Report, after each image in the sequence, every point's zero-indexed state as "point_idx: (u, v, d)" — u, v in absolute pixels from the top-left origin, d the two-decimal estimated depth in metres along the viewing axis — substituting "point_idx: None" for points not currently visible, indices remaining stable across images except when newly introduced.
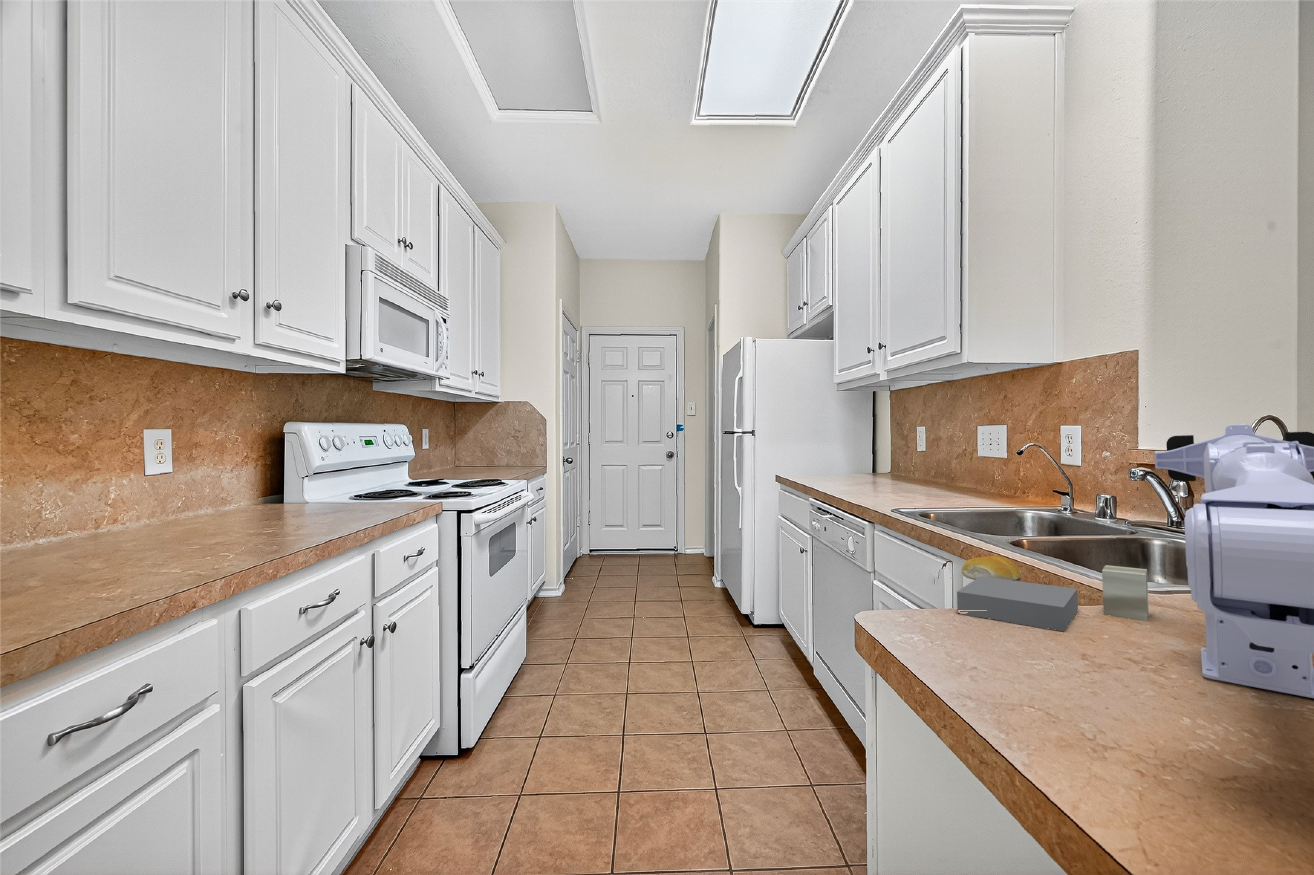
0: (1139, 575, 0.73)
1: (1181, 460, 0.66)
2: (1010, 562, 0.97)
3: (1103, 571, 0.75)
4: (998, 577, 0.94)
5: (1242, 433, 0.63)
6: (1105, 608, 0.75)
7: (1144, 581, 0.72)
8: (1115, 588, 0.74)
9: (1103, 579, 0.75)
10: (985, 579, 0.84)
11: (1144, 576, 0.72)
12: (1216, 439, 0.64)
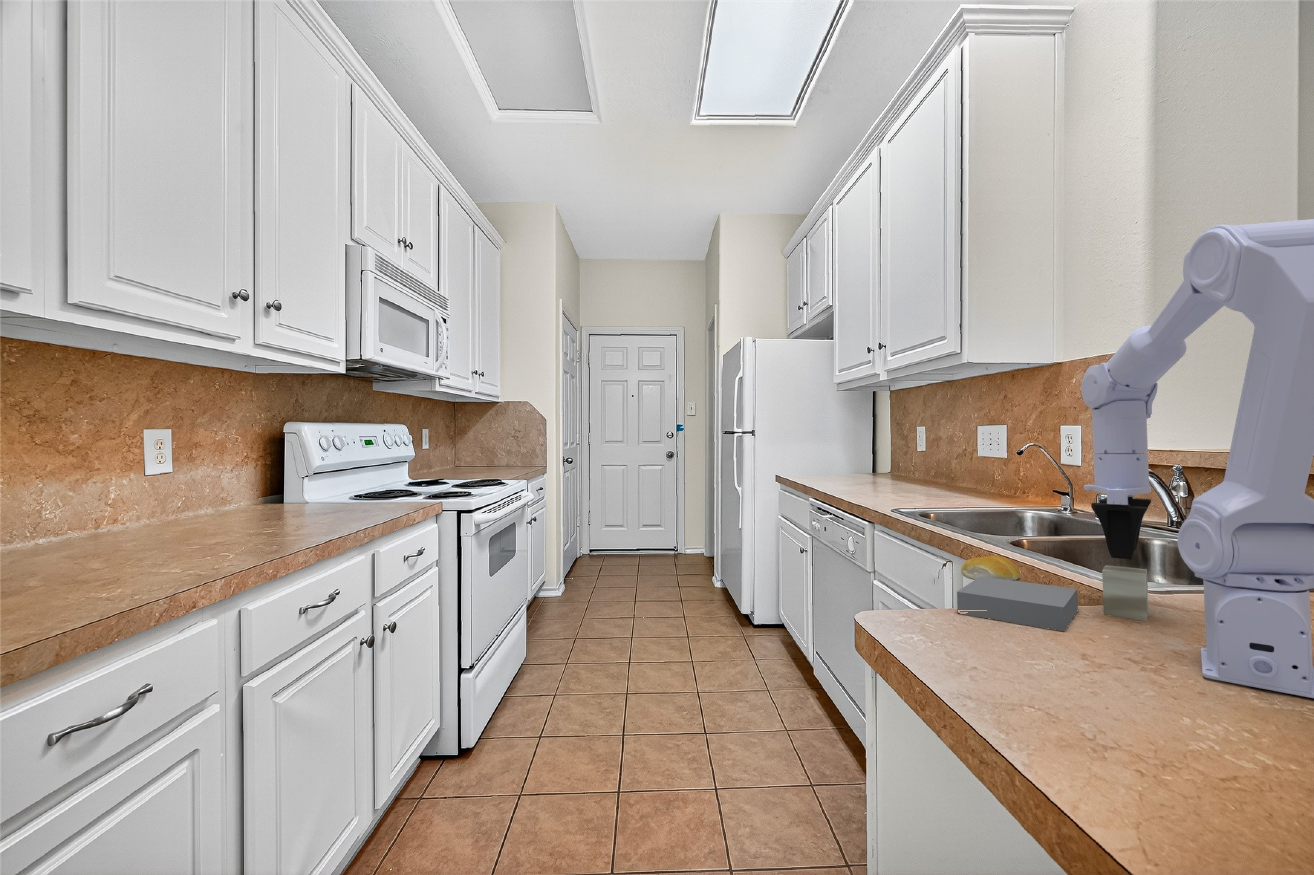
0: (1139, 575, 0.73)
1: (1118, 488, 0.72)
2: (1010, 562, 0.97)
3: (1103, 571, 0.75)
4: (998, 577, 0.94)
5: (1093, 485, 0.78)
6: (1105, 608, 0.75)
7: (1144, 581, 0.72)
8: (1115, 588, 0.74)
9: (1103, 579, 0.75)
10: (985, 579, 0.84)
11: (1144, 576, 0.72)
12: (1097, 486, 0.76)
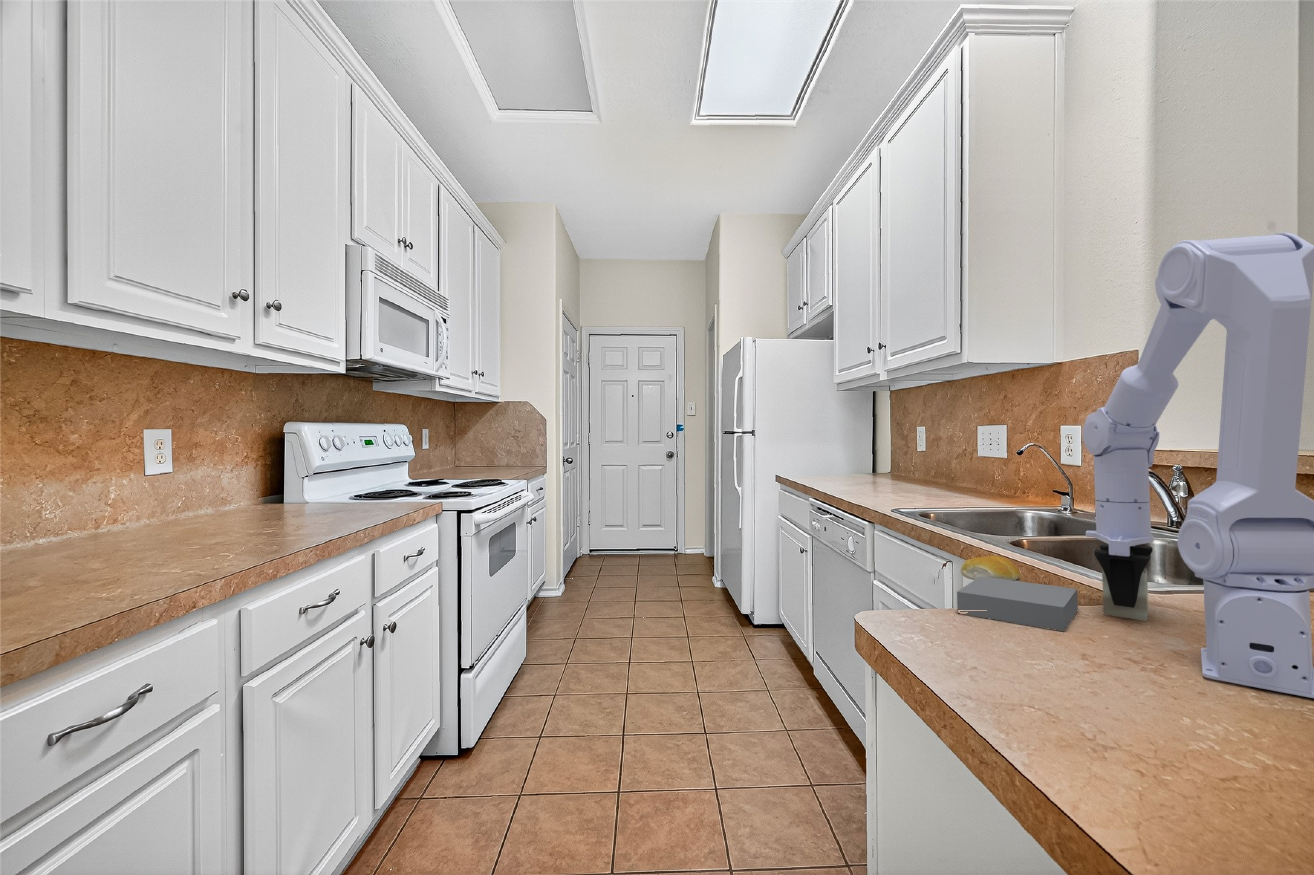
0: None
1: (1120, 538, 0.72)
2: (1010, 562, 0.97)
3: (1103, 571, 0.75)
4: (997, 577, 0.94)
5: (1095, 531, 0.78)
6: (1105, 608, 0.75)
7: (1144, 581, 0.72)
8: None
9: (1103, 579, 0.75)
10: (985, 579, 0.84)
11: (1144, 576, 0.72)
12: (1099, 533, 0.76)
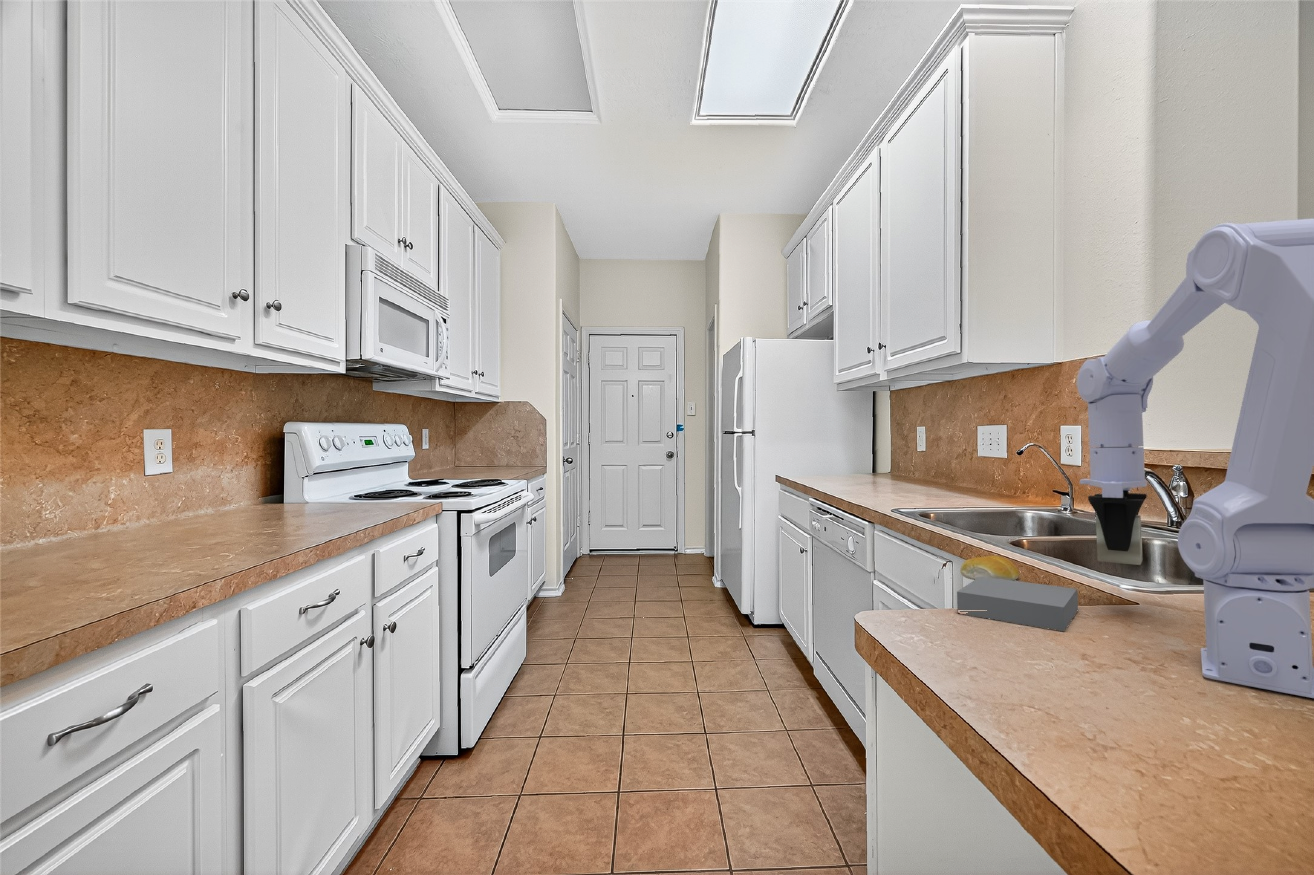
0: None
1: (1113, 481, 0.72)
2: (1009, 562, 0.97)
3: (1097, 517, 0.76)
4: (997, 577, 0.94)
5: (1089, 479, 0.78)
6: (1099, 554, 0.75)
7: (1137, 525, 0.73)
8: None
9: (1097, 525, 0.76)
10: (985, 579, 0.84)
11: (1137, 520, 0.73)
12: (1093, 480, 0.76)
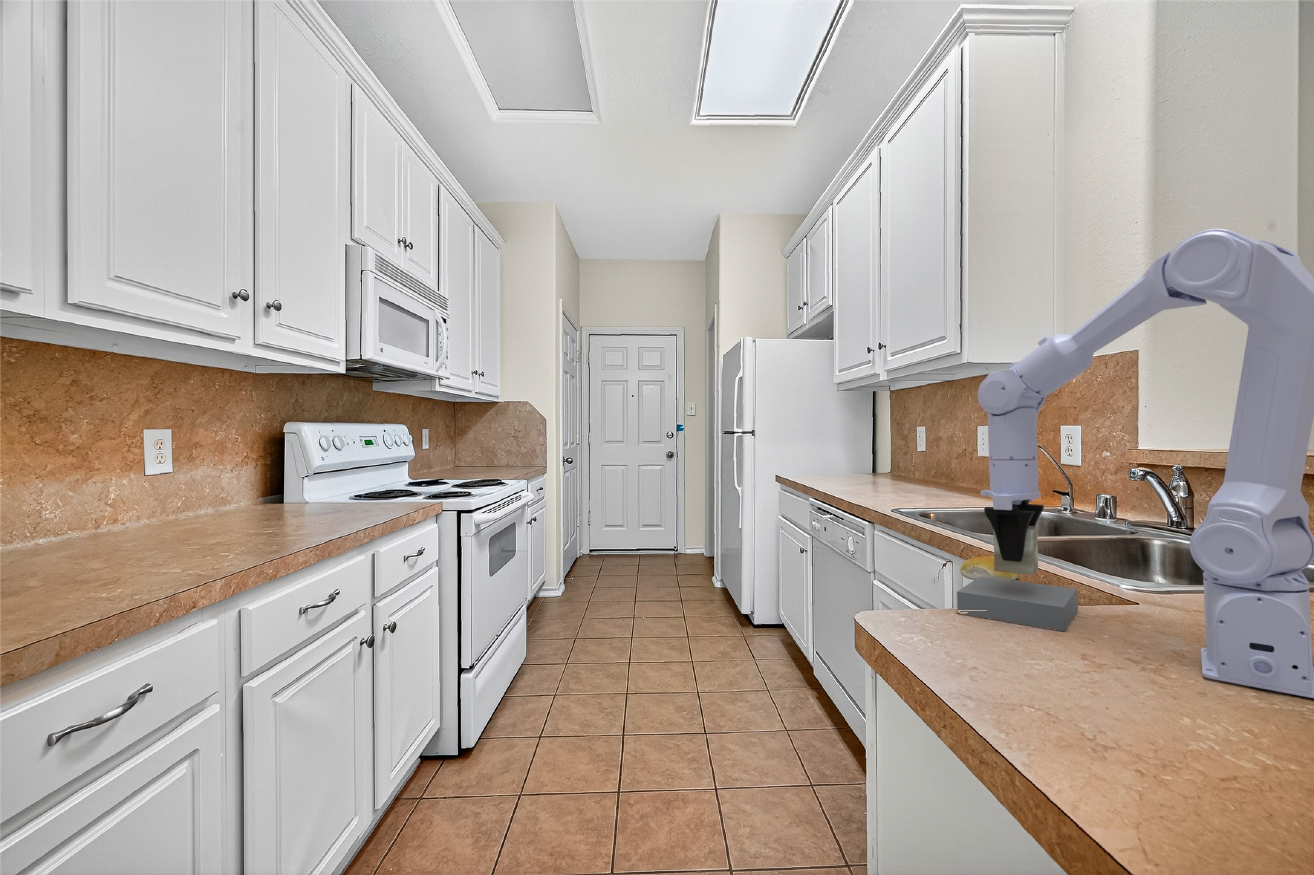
0: None
1: (1005, 493, 0.74)
2: None
3: None
4: (997, 577, 0.94)
5: (990, 490, 0.80)
6: (996, 564, 0.77)
7: (1030, 536, 0.74)
8: None
9: (994, 536, 0.77)
10: (985, 579, 0.84)
11: (1030, 531, 0.74)
12: (991, 491, 0.78)
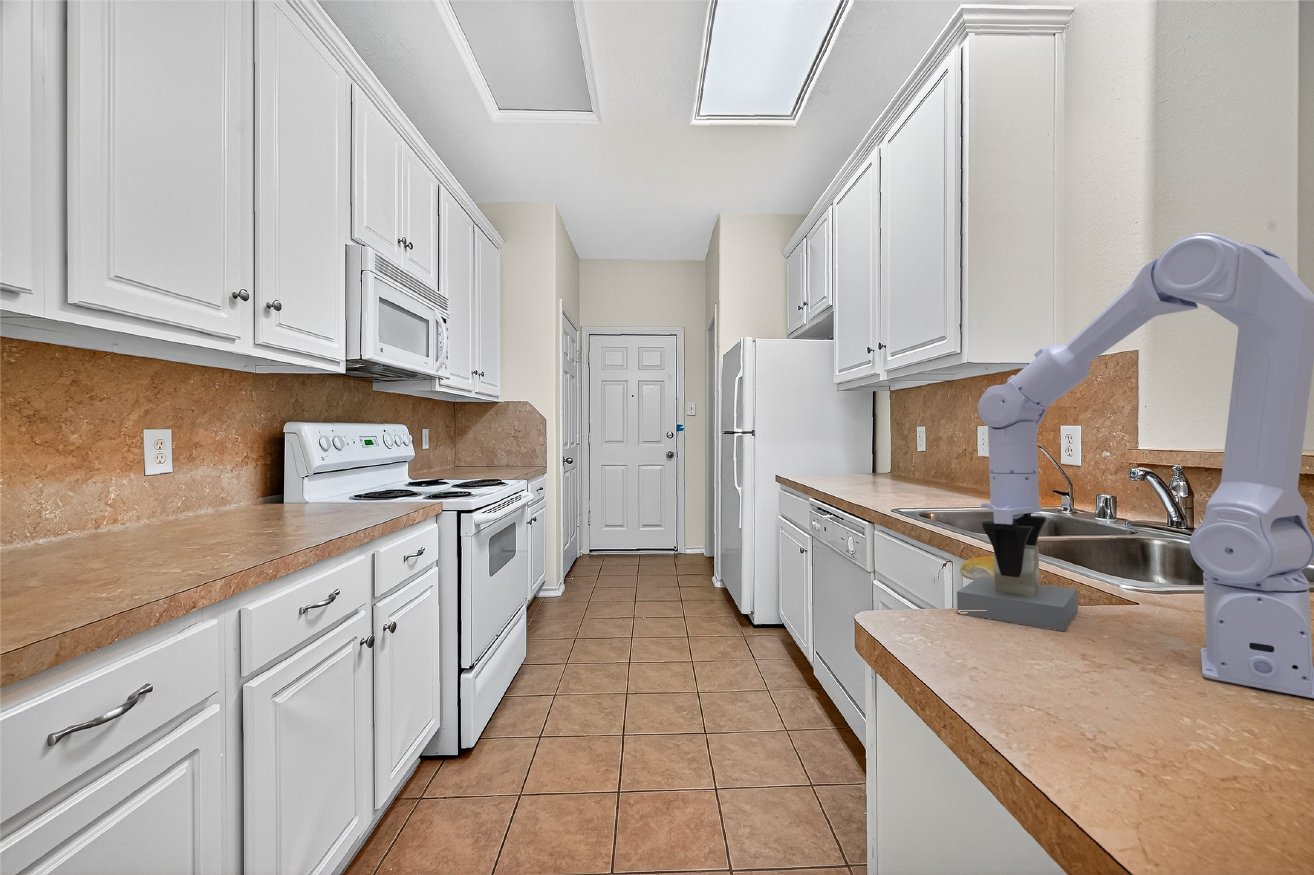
0: (1026, 551, 0.74)
1: (1006, 507, 0.74)
2: None
3: None
4: None
5: (990, 503, 0.80)
6: (996, 584, 0.77)
7: (1030, 557, 0.74)
8: None
9: (994, 555, 0.77)
10: (985, 579, 0.84)
11: (1030, 552, 0.74)
12: (991, 504, 0.78)
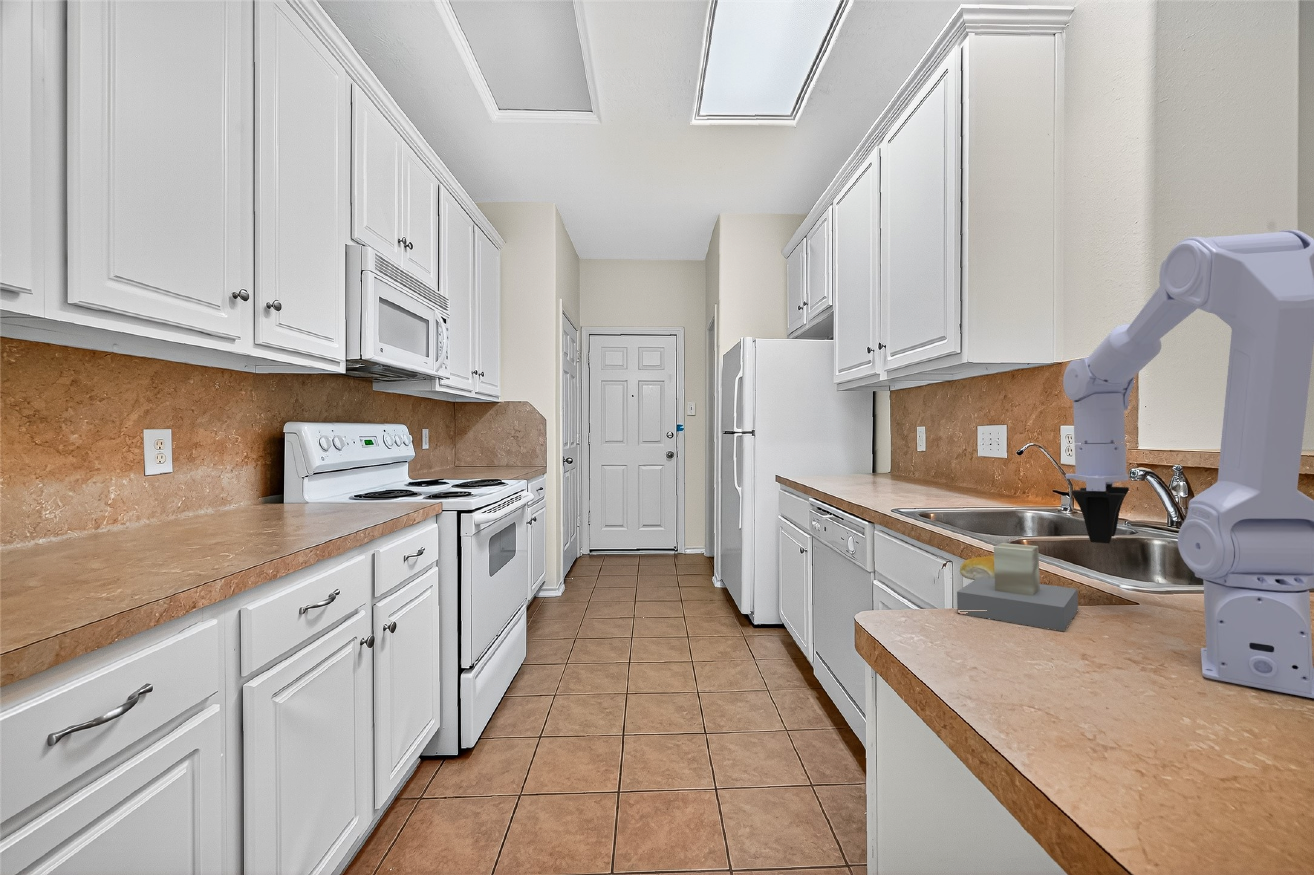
0: (1026, 551, 0.74)
1: (1097, 475, 0.76)
2: None
3: (994, 548, 0.77)
4: None
5: None
6: (996, 584, 0.77)
7: (1030, 557, 0.74)
8: (1005, 564, 0.76)
9: (994, 555, 0.77)
10: (985, 579, 0.84)
11: (1030, 552, 0.74)
12: (1078, 474, 0.80)
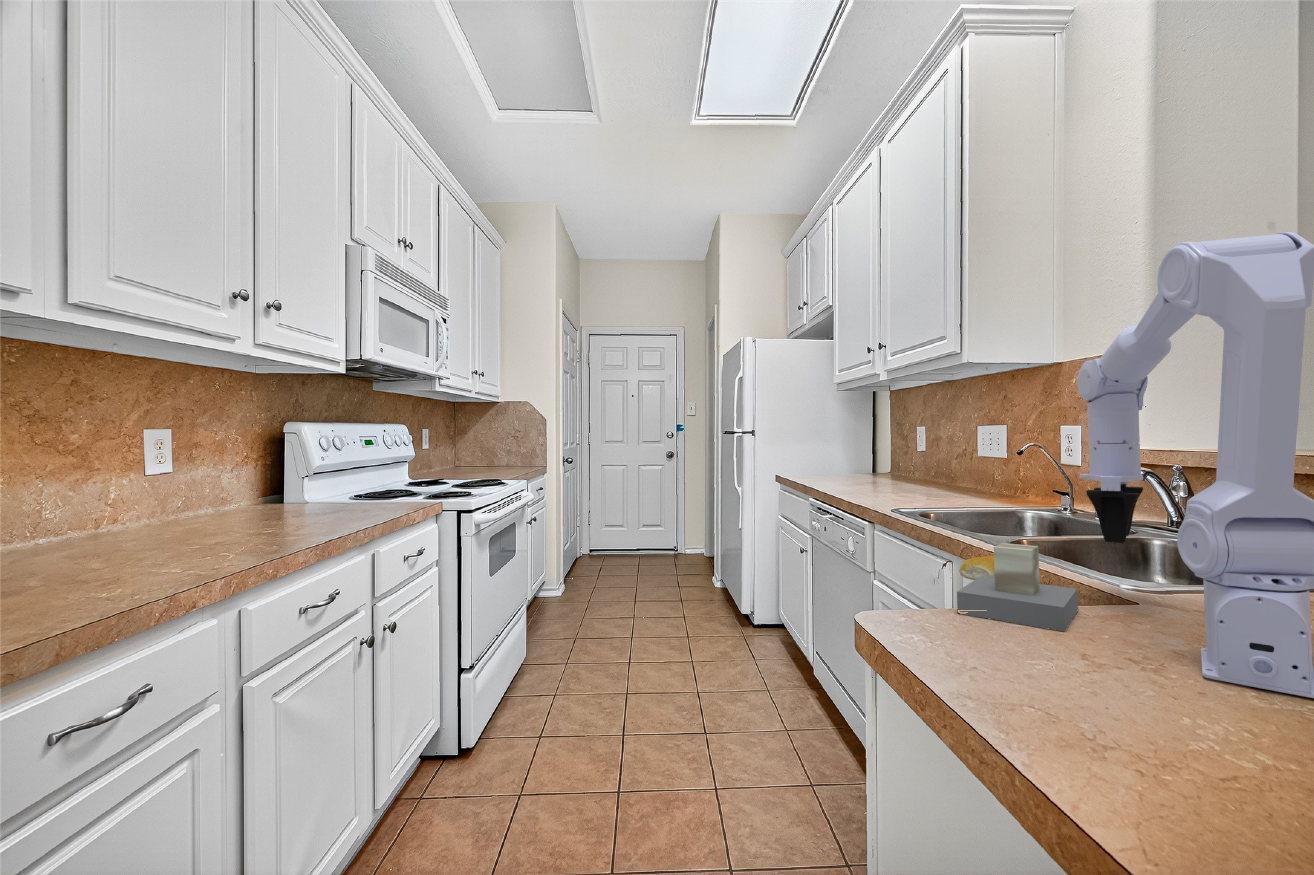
0: (1026, 551, 0.74)
1: (1111, 475, 0.77)
2: None
3: (994, 548, 0.77)
4: None
5: None
6: (996, 584, 0.77)
7: (1030, 557, 0.74)
8: (1005, 564, 0.76)
9: (994, 555, 0.77)
10: (985, 579, 0.84)
11: (1030, 552, 0.74)
12: (1092, 474, 0.80)
